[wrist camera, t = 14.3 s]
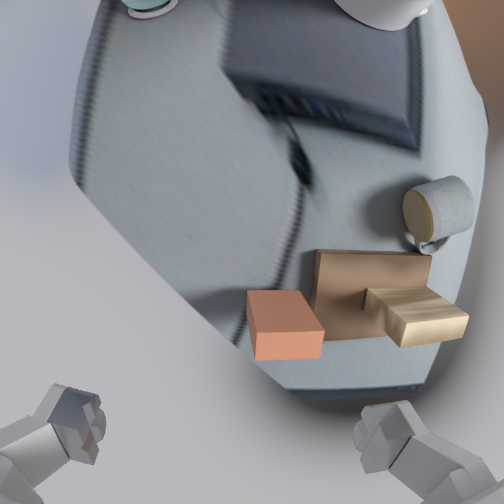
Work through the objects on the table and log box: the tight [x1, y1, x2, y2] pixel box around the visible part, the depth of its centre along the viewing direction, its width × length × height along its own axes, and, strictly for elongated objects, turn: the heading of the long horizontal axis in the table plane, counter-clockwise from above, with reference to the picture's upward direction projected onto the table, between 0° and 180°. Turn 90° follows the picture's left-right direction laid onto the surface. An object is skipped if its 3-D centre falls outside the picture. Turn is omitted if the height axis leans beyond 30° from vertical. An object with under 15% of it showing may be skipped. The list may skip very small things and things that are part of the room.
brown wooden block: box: [310, 249, 469, 348], centre depth 35 cm, size 12×17×12 cm
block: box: [246, 290, 325, 361], centre depth 32 cm, size 3×6×10 cm, turn 87°
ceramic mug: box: [402, 176, 475, 255], centre depth 35 cm, size 11×8×8 cm
